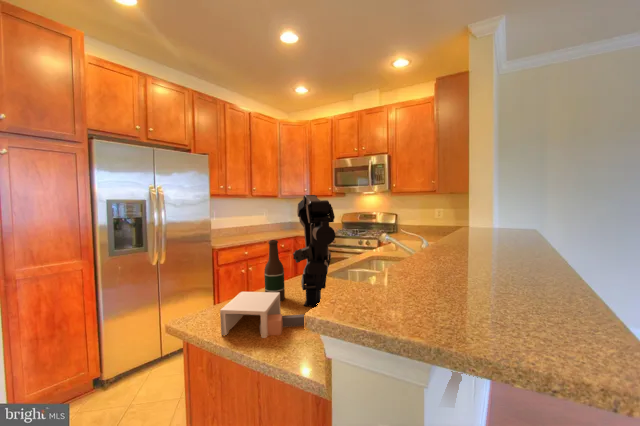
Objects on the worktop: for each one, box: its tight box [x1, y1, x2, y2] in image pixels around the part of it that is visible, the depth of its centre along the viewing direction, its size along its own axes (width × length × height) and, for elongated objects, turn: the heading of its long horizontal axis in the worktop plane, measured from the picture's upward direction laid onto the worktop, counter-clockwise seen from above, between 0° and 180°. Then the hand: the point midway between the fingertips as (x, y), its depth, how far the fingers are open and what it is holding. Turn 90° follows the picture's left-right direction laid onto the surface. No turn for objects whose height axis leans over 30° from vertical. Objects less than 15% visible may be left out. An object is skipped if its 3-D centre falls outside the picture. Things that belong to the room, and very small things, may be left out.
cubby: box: [219, 291, 282, 339], centre depth 93 cm, size 16×14×8 cm
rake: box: [259, 313, 305, 335], centre depth 90 cm, size 6×19×3 cm, turn 95°
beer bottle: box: [264, 239, 286, 303], centre depth 114 cm, size 8×8×24 cm
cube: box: [267, 313, 284, 336], centre depth 88 cm, size 4×4×4 cm
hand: (320, 286), depth 94 cm, fingers open, 9 cm apart
